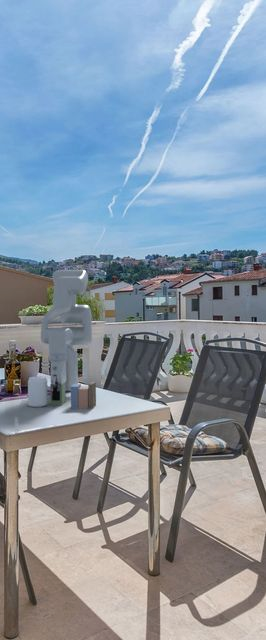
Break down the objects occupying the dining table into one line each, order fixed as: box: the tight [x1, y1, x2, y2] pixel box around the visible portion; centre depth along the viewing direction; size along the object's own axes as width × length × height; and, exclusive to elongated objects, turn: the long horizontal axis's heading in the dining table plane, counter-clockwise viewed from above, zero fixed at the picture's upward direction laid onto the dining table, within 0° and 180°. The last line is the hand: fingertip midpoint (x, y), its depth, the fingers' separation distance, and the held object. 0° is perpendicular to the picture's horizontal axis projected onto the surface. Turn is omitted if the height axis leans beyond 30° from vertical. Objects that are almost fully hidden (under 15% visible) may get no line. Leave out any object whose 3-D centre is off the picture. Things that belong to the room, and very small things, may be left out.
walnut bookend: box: [87, 381, 97, 409], centre depth 213 cm, size 7×2×10 cm, turn 175°
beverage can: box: [27, 375, 49, 408], centre depth 215 cm, size 8×8×12 cm
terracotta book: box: [77, 385, 90, 409], centre depth 213 cm, size 6×4×8 cm, turn 175°
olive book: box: [49, 383, 66, 406], centre depth 220 cm, size 6×5×9 cm
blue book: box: [70, 383, 82, 409], centre depth 214 cm, size 6×3×9 cm, turn 175°
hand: (58, 398), depth 220 cm, fingers closed on olive book, 6 cm apart
